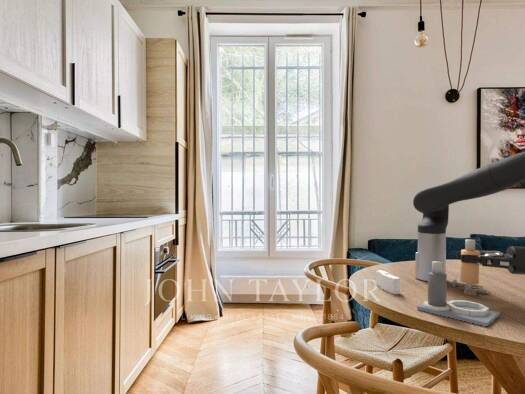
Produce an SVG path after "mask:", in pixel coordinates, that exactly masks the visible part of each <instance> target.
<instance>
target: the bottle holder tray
mask: <svg viewBox="0 0 525 394" xmlns="http://www.w3.org/2000/svg"><path fill="white" fill-rule="evenodd" d="M447 277H448V276H447V273H442V262H439V261H432V272H428V281H427V300H425V301H423V302H422V303H420V304H419V305H417V306H416V307H417V308H416V310H417V311H421V312H424V311H425V313H428V312H429V313H428V314H432V313H433V315H436V314H437V315H436V316H440V315H441V316H440V317H444V316H445V318H448V317H450V318H449V319H452V318H454V319H453V320H456V319H458V320H457V321H460V320H462V321H461V322H464V321H467V322H466V323H468V322H471V323H470V324H472V323H476V324H479V325H478V326H480V325H484V326H488V325H489V324H490V323H491V322H492V321H493V322H495V321H496V320H497V319H498V318H499V317H500V316H501V312H500V311H496V310H492V309H490V307H488V306H486V305H484V304H482V303H480V302H473V301H469V300H465V299H464V300H463V299H462V300H460V299H457V300H456V299H454V300H453V299H451V300H447V299H448V298H447V289H448V288H447V283H448V282H447V279H448V278H447ZM498 316H499V317H498ZM497 317H498V318H497ZM496 318H497V319H496ZM495 319H496V320H495ZM494 320H495V321H494ZM493 322H492V323H493ZM492 323H491V324H492ZM476 324H475V325H476ZM491 324H490V325H491ZM490 325H489V326H490ZM484 326H483V327H484ZM489 326H488V327H489Z"/></svg>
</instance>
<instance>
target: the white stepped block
mask: <svg viewBox="0 0 525 394" xmlns="http://www.w3.org/2000/svg"><path fill="white" fill-rule="evenodd" d="M376 284H377V285H378V286H377V285H376ZM375 285H376V286H377V287H379V288H380V289H381V290H383V289H384V291H385V290H386V291H385V292H387V291H388V292H387V293H390V294H392V293H393V294H392V295H400V294H401V278H400V277H398V276H395V275H393V274H391V273H390V272H387V271H385V270H382V269H381V270H380V269H379V270H375Z"/></svg>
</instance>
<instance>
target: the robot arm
mask: <svg viewBox="0 0 525 394" xmlns="http://www.w3.org/2000/svg"><path fill="white" fill-rule="evenodd" d="M524 181H525V151H522V152H519V153H516V154H513V155H509V156H508V157H504V158H502V159H499V160H496V161H494V162H491V163H488V164H486V165H483V166H481V167H479V168H476V169H474V170H472V171H469V172H467V173H464V174H463V175H461V176H458V177H457V178H453V179H451V180H450V181H447V182H444V183H441V184H438V185H435V186H431V187H428V188H424V189H421V190H419V191H418V192H417V193H416V194H415V195H414V197H413V201H412V203H413V208H414V209H415V210H416V211H417V212H419V213H420V214H422V219H421V221H420V222H419V223H418V225H417V252H415V256H414V257H415V271H414V272H415V277H414V278H415V279H418V280H421V281H425V282H428V272H432V261H439V262H442V273H446V272H447V227H448V225H449V214H450V212H449V211H450V208H449V207H450V205H451V204H454V203H459V202H462V201H469V200H474V199H479V198H482V197H486V196H491V195H493V194H497V193H500V192H503V191H505V190H509V189H512V188H513V187H515V186H517V185H520V184H521V183H523V182H524ZM478 251H479V255H466V254H462V255H461V250H459V251H457V252H456V259H457V260H460V263H461V262H463V263H477V264H479V266H482V267H490V268H498V269H499V268H500V269H505V270H508V272H509V273H510V274H513V275H524V276H525V246H516V245H514V246H513V245H512V246H508V247H507V249H506V252H505V253H504V252H501V251H500V250H499V251H498V250H478ZM446 274H447V273H446Z"/></svg>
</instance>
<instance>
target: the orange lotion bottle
mask: <svg viewBox="0 0 525 394" xmlns="http://www.w3.org/2000/svg"><path fill="white" fill-rule="evenodd" d="M464 240H465V243H464V246H465V247H464V249H463V248H462V249H461V250H460V251H461V255H462V254H466V255H480V254H479V251H480V250H478V249H477V250H476V240H475V239H464ZM460 283H464V284H466V283H467V284H472V285H479V284H480V265H479V264H477V263H463V262H461V261H460Z"/></svg>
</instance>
